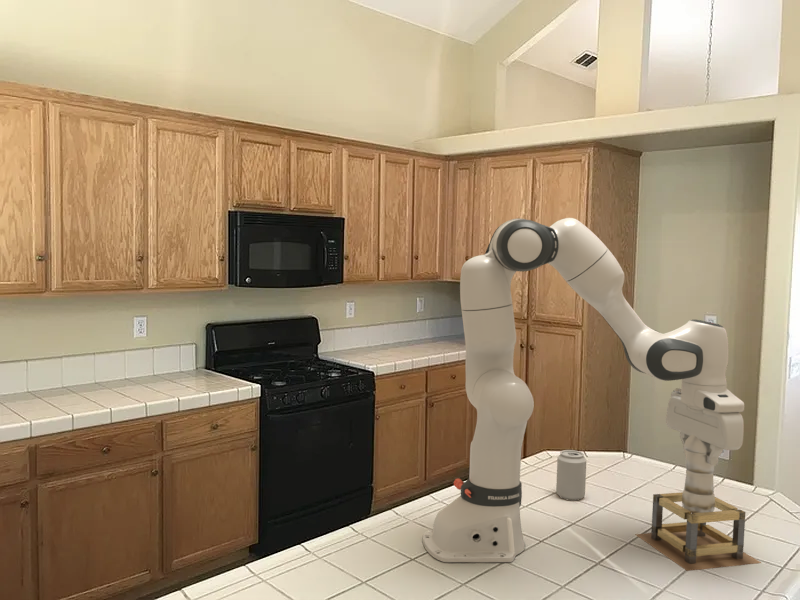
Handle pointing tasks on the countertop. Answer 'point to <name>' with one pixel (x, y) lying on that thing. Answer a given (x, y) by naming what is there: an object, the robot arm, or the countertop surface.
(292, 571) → the countertop surface
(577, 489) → the can
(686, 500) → the plastic bottle
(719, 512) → the frame
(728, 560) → the walnut board
